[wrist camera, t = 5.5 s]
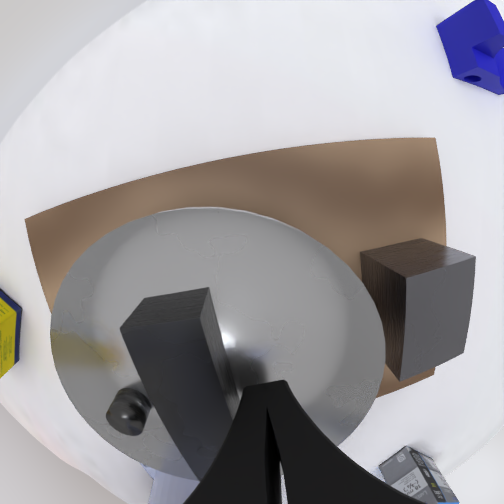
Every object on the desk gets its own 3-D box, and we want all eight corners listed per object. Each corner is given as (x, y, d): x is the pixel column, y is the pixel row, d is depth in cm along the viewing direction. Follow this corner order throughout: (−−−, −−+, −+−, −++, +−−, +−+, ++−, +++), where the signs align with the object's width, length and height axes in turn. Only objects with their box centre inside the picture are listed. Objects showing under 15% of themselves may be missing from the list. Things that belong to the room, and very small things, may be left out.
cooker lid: (367, 443, 11) (385, 482, 8) (133, 470, 11) (122, 507, 8) (366, 175, 8) (415, 171, 5) (22, 250, 8) (-27, 269, 5)
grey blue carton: (433, 457, 21) (474, 524, 9) (408, 477, 21) (442, 545, 9) (406, 444, 19) (456, 532, 7) (375, 466, 20) (414, 556, 8)
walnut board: (427, 367, 17) (433, 374, 16) (116, 423, 17) (113, 432, 16) (425, 139, 13) (435, 137, 12) (34, 217, 13) (24, 219, 12)
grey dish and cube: (415, 362, 15) (450, 401, 11) (148, 415, 15) (131, 465, 11) (415, 174, 13) (472, 173, 8) (79, 237, 13) (27, 257, 8)
